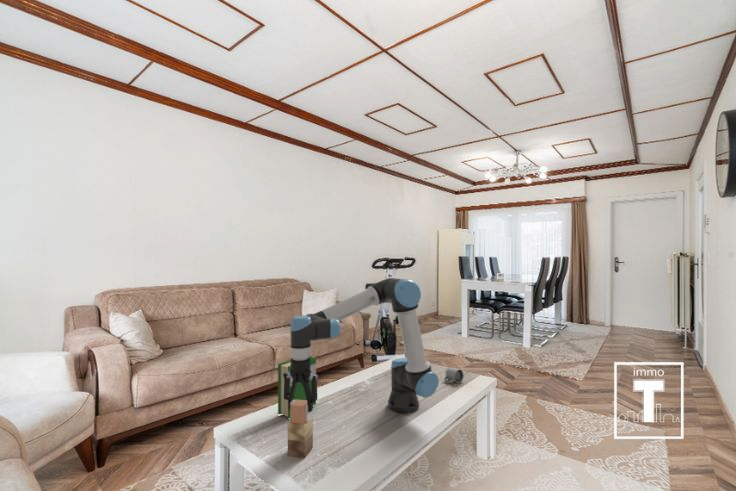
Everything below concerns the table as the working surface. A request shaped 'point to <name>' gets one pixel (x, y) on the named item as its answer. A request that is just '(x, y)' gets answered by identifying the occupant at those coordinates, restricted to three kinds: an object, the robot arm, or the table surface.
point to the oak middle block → (300, 430)
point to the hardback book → (299, 392)
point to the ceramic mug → (454, 375)
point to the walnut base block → (300, 447)
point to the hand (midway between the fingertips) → (300, 419)
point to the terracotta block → (298, 412)
